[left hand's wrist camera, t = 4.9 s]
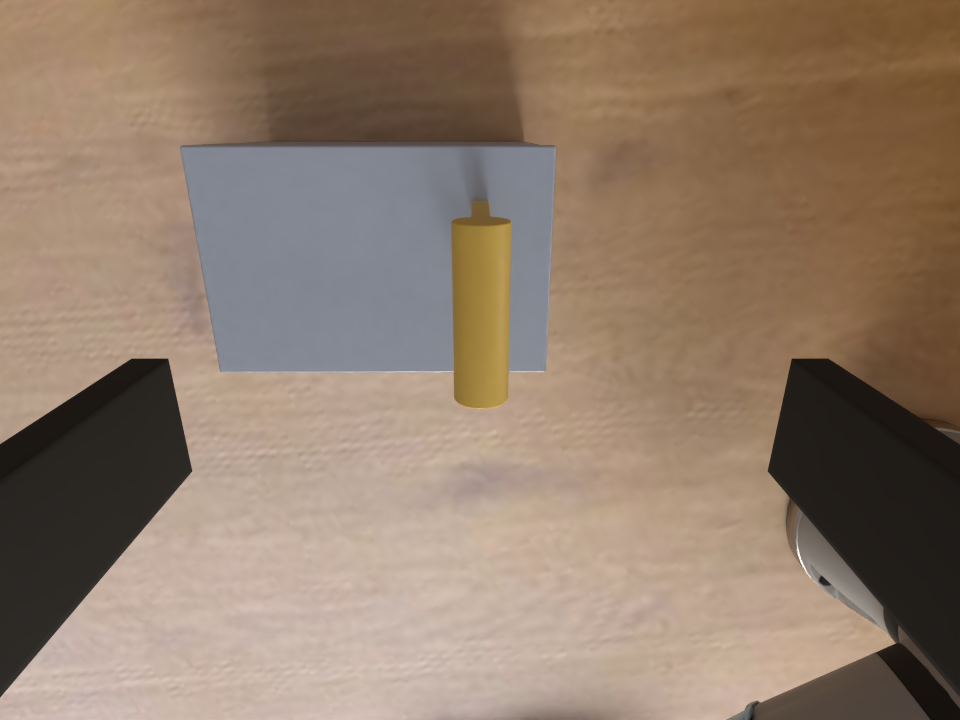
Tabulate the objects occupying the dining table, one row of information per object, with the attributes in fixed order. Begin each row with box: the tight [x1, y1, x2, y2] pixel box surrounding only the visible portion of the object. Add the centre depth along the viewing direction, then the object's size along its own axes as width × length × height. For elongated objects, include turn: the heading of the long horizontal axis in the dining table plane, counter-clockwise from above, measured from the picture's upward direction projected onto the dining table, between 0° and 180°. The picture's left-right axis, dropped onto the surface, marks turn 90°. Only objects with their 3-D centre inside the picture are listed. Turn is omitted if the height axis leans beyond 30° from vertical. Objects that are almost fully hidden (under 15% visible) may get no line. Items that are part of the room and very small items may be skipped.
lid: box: [180, 145, 556, 409], centre depth 22 cm, size 16×10×9 cm, turn 90°
